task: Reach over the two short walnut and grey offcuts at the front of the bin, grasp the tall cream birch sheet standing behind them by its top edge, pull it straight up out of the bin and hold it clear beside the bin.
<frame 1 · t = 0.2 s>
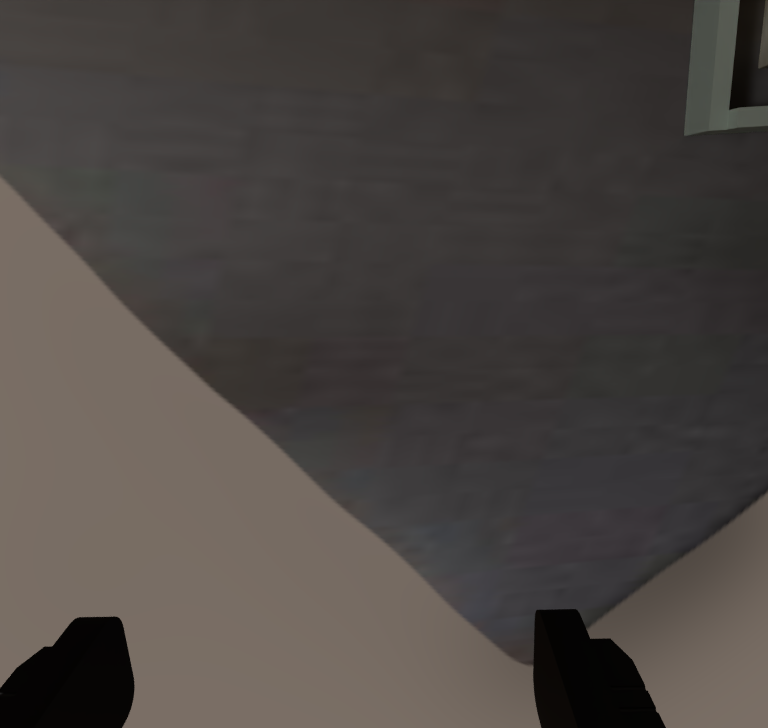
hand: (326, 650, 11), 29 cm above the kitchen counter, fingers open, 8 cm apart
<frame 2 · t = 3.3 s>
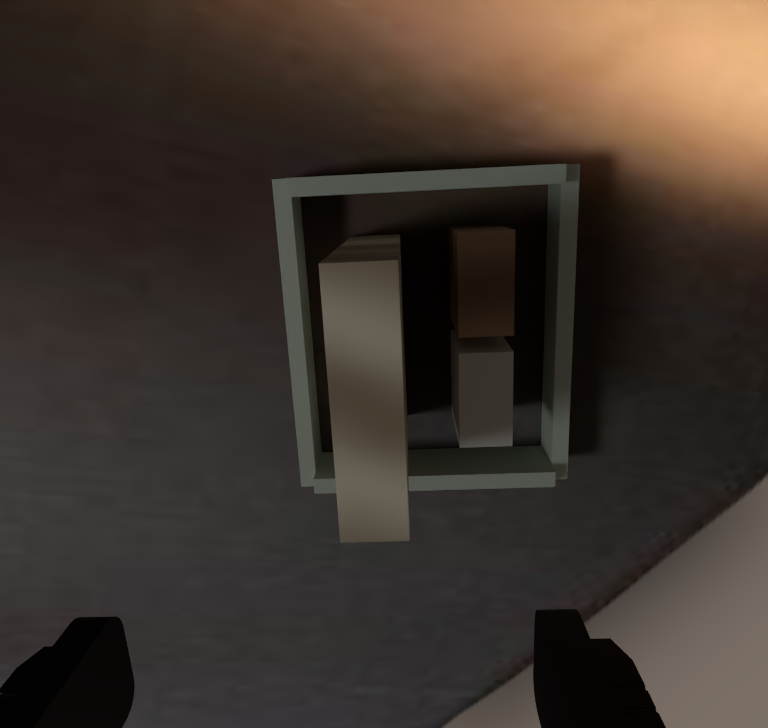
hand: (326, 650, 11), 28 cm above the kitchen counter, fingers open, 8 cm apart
grey offcut: (473, 370, 39), resting in bin
birch sheet: (380, 329, 38), resting in bin
bin: (427, 327, 38), on the kitchen counter
walnut offcut: (473, 271, 37), resting in bin
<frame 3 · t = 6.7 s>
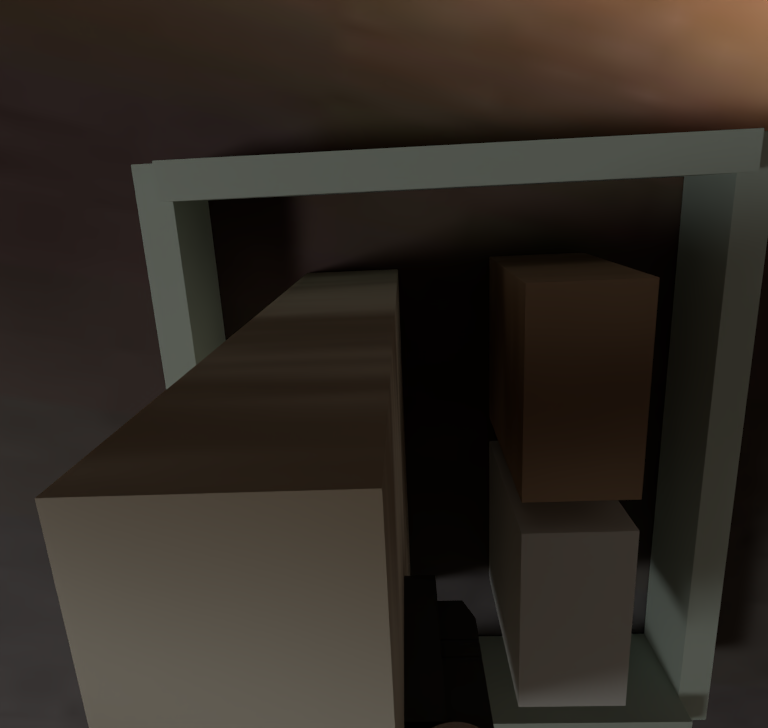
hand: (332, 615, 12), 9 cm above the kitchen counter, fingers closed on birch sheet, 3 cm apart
grey offcut: (529, 509, 22), resting in bin
birch sheet: (363, 439, 21), resting in bin, touching gripper
bin: (446, 437, 21), on the kitchen counter
walnut offcut: (533, 338, 20), resting in bin
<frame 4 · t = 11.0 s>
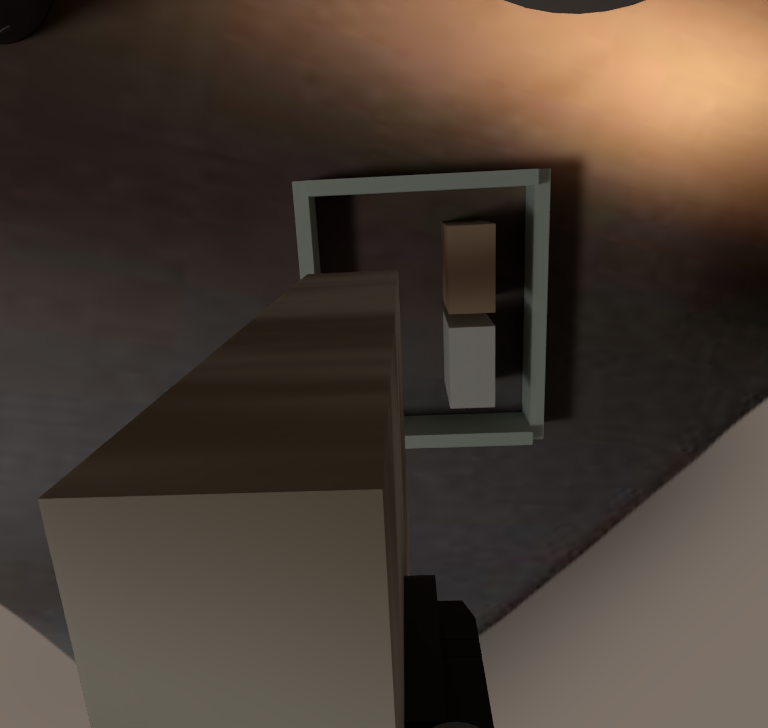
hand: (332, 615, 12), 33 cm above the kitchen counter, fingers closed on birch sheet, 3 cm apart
grey offcut: (463, 346, 45), resting in bin
birch sheet: (363, 439, 21), point 24 cm above the kitchen counter, touching gripper
bin: (423, 309, 44), on the kitchen counter
walnut offcut: (462, 260, 43), resting in bin
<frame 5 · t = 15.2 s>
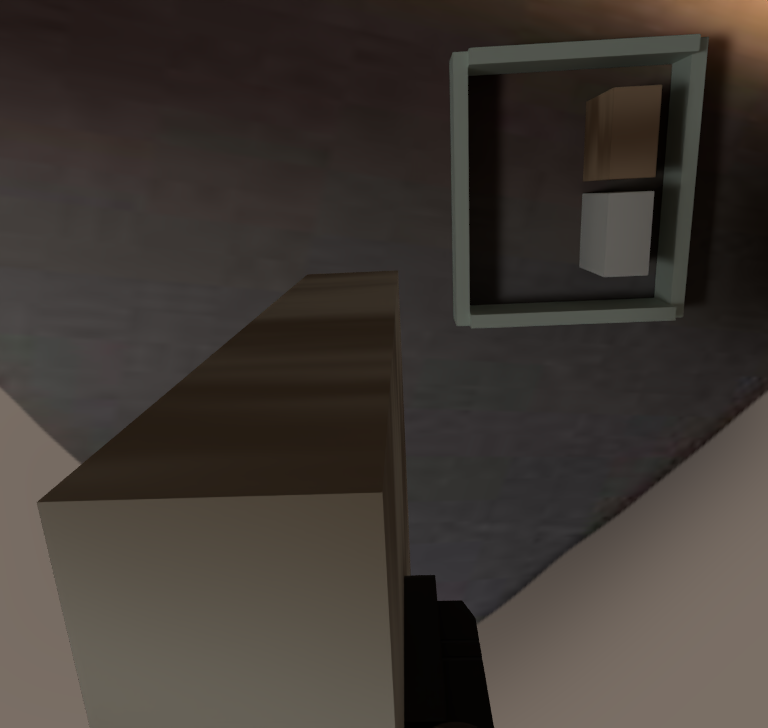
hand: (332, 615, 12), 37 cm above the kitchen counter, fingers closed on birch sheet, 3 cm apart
grey offcut: (600, 229, 46), resting in bin
birch sheet: (363, 440, 21), point 28 cm above the kitchen counter, touching gripper
bin: (563, 191, 45), on the kitchen counter
walnut offcut: (604, 141, 44), resting in bin
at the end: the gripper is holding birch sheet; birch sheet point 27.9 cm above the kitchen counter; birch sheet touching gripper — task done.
